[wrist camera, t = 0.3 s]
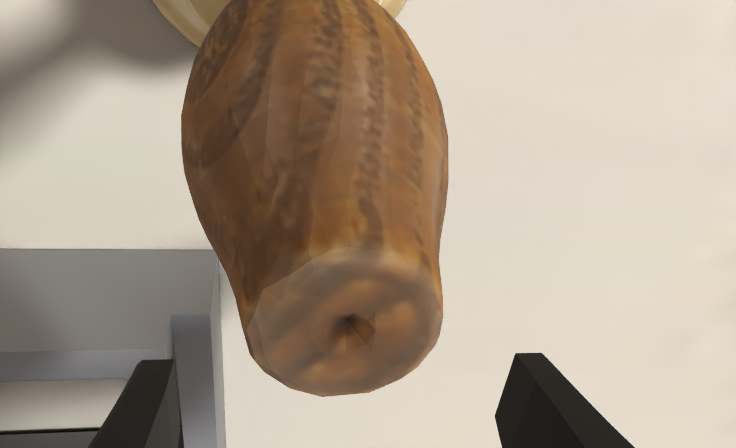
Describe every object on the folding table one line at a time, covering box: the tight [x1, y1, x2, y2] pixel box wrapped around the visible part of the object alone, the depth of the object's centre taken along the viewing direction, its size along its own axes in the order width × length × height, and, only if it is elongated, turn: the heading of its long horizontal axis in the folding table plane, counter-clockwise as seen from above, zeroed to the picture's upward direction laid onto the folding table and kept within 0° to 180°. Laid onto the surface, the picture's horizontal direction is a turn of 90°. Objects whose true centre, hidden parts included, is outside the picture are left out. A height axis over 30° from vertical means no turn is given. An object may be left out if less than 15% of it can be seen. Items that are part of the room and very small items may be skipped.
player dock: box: [0, 249, 226, 448], centre depth 23 cm, size 12×13×5 cm
